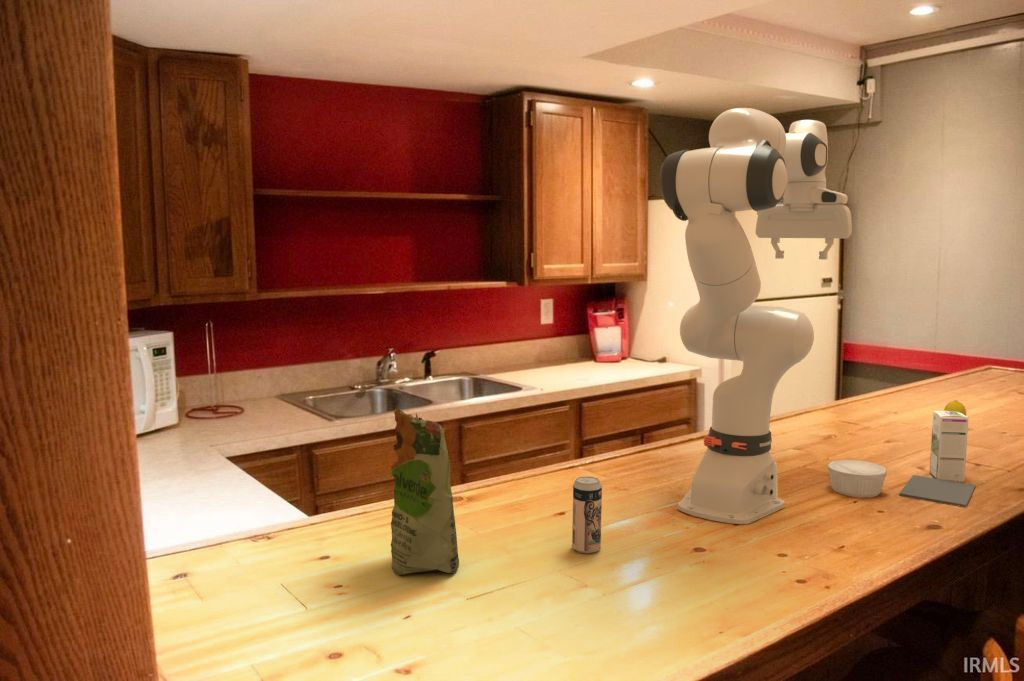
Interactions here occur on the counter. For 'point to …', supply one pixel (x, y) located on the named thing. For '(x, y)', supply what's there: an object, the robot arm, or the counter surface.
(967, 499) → the mat
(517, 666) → the counter surface
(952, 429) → the syrup box
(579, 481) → the beer can
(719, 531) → the counter surface
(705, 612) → the counter surface
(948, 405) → the lemon
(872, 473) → the ramekin
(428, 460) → the pouch
